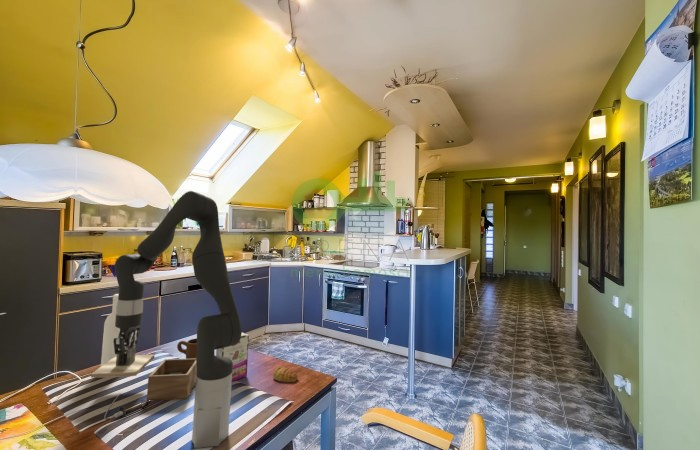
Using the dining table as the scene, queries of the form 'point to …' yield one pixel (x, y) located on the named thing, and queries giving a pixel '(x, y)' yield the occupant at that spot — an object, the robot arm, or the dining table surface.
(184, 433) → the dining table surface
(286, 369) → the pastry
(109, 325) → the bottle
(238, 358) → the candy bar box
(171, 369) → the box
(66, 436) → the dining table surface
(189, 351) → the mug
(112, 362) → the lid
